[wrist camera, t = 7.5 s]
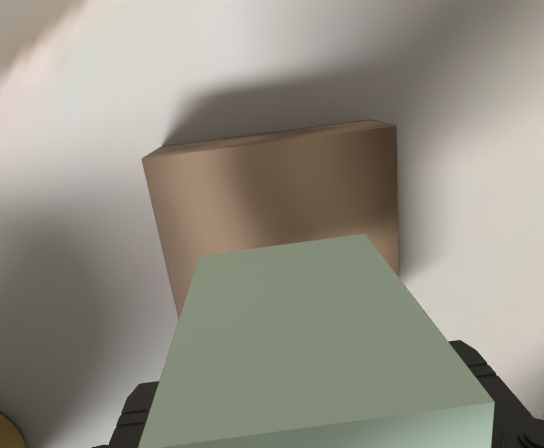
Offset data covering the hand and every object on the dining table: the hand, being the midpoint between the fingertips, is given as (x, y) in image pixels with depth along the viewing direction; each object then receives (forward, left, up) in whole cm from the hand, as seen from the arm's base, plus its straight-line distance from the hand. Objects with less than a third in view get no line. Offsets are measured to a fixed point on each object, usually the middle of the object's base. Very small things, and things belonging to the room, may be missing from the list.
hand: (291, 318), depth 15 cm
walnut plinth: (0, 0, -10) cm, 10 cm away
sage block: (0, 0, 0) cm, 0 cm away
